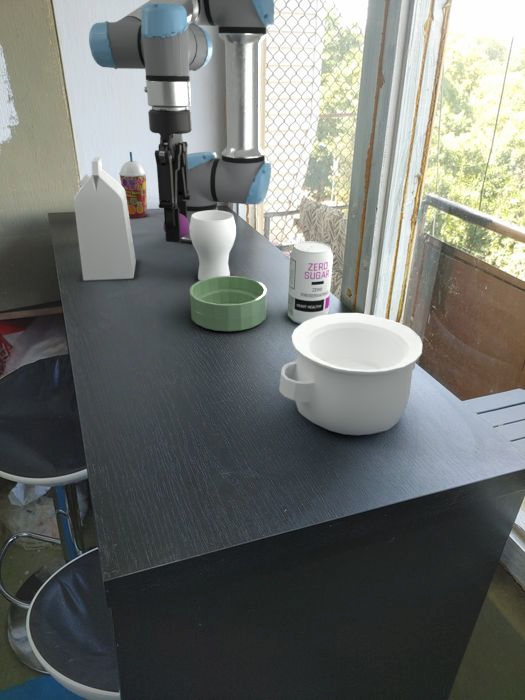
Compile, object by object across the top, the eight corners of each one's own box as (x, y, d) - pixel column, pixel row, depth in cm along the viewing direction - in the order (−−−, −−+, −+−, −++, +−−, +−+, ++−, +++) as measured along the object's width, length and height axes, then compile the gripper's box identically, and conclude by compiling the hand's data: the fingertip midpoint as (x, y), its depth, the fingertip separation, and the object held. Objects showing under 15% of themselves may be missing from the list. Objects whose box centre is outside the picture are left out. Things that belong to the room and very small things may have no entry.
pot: (311, 467, 67) (318, 387, 62) (257, 397, 81) (258, 327, 75) (444, 425, 76) (461, 352, 70) (374, 369, 89) (383, 303, 83)
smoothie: (119, 218, 171) (112, 153, 161) (129, 211, 178) (123, 149, 168) (144, 219, 170) (138, 154, 160) (153, 213, 177) (148, 150, 167)
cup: (229, 288, 120) (229, 223, 113) (185, 283, 122) (182, 219, 114) (240, 272, 129) (240, 211, 122) (199, 268, 131) (197, 208, 124)
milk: (133, 278, 124) (121, 163, 112) (83, 280, 122) (64, 164, 110) (135, 261, 134) (124, 154, 122) (89, 263, 133) (73, 155, 120)
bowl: (199, 299, 114) (198, 273, 111) (269, 304, 112) (270, 277, 110) (183, 331, 101) (181, 302, 98) (261, 336, 99) (262, 307, 96)
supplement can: (305, 306, 112) (309, 237, 105) (335, 318, 107) (342, 247, 100) (279, 316, 107) (281, 245, 100) (309, 330, 102) (314, 256, 95)
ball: (168, 234, 106) (166, 209, 104) (192, 235, 106) (191, 210, 103) (161, 241, 102) (159, 215, 99) (186, 242, 101) (185, 217, 99)
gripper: (163, 104, 100) (171, 224, 112) (131, 111, 85) (144, 250, 96) (201, 105, 100) (205, 226, 111) (176, 113, 84) (184, 252, 95)
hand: (177, 237), depth 103 cm, fingers closed on ball, 5 cm apart
